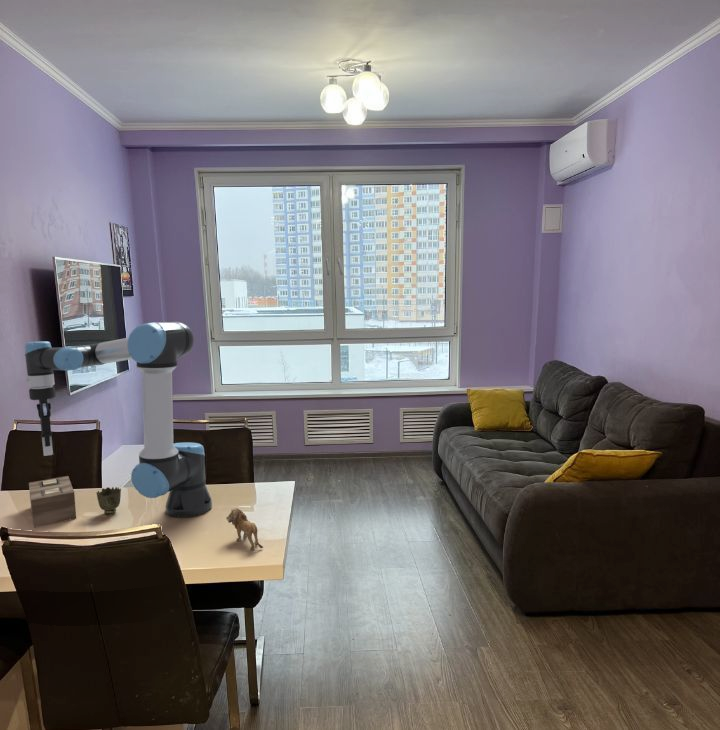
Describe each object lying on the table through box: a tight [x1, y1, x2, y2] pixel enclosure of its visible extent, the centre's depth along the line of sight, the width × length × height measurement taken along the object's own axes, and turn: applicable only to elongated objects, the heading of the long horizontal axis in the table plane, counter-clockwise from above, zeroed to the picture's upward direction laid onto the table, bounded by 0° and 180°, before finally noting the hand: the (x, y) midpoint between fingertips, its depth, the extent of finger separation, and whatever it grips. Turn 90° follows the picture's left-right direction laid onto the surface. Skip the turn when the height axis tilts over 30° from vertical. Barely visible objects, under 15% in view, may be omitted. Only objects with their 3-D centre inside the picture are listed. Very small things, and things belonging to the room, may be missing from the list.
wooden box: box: [28, 475, 77, 528], centre depth 175 cm, size 20×12×9 cm, turn 34°
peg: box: [43, 478, 57, 486], centre depth 179 cm, size 4×4×8 cm
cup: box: [95, 486, 122, 516], centre depth 174 cm, size 8×7×8 cm
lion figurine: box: [226, 508, 264, 551], centre depth 152 cm, size 15×5×9 cm, turn 50°
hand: (48, 454), depth 177 cm, fingers closed
